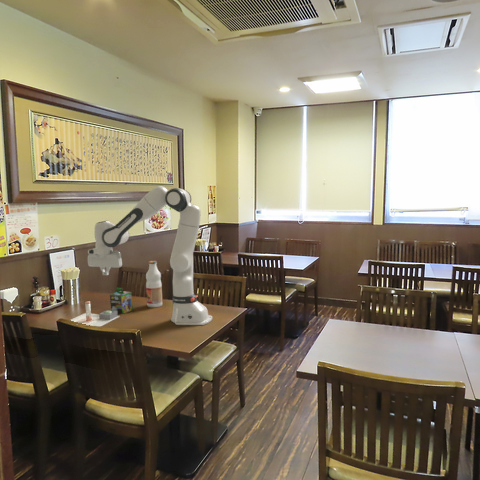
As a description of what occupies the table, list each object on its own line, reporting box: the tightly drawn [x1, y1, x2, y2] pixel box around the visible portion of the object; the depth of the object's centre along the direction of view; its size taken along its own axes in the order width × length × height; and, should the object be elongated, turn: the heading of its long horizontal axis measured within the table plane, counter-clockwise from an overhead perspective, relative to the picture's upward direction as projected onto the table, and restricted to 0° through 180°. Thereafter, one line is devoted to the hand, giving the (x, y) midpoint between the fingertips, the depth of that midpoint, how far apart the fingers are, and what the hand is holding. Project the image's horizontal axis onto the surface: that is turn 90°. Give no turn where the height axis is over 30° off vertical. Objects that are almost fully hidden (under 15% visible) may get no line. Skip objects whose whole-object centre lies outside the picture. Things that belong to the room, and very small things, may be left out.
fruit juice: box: [145, 260, 163, 308], centre depth 241 cm, size 9×9×28 cm
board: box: [70, 309, 121, 327], centre depth 216 cm, size 24×18×4 cm
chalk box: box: [109, 287, 134, 315], centre depth 230 cm, size 9×9×15 cm
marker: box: [84, 300, 92, 321], centre depth 213 cm, size 3×3×10 cm
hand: (105, 274), depth 216 cm, fingers closed
